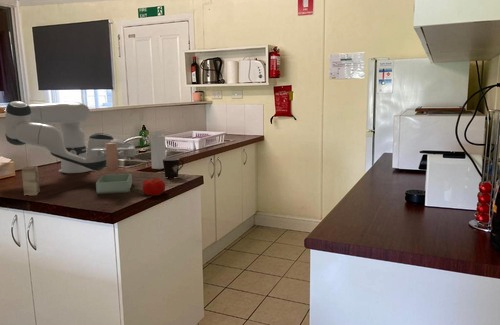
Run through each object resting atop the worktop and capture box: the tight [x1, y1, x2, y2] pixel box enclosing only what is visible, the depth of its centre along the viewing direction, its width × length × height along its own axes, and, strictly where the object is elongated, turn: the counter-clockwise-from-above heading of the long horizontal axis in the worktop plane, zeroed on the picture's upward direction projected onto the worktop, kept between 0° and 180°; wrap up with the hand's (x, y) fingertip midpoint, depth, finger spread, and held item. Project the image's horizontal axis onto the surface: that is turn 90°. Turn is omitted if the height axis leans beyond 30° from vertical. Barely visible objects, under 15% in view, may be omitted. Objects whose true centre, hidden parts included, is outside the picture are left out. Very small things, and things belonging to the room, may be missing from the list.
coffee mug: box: [163, 157, 184, 178], centre depth 216 cm, size 12×9×10 cm
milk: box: [150, 130, 167, 170], centre depth 243 cm, size 6×6×22 cm
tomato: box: [142, 177, 166, 197], centre depth 182 cm, size 10×11×6 cm
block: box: [21, 165, 41, 197], centre depth 182 cm, size 5×5×12 cm
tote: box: [95, 173, 133, 195], centre depth 193 cm, size 18×14×5 cm
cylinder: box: [105, 143, 119, 172], centre depth 187 cm, size 5×5×12 cm
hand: (111, 154), depth 185 cm, fingers closed on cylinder, 5 cm apart
